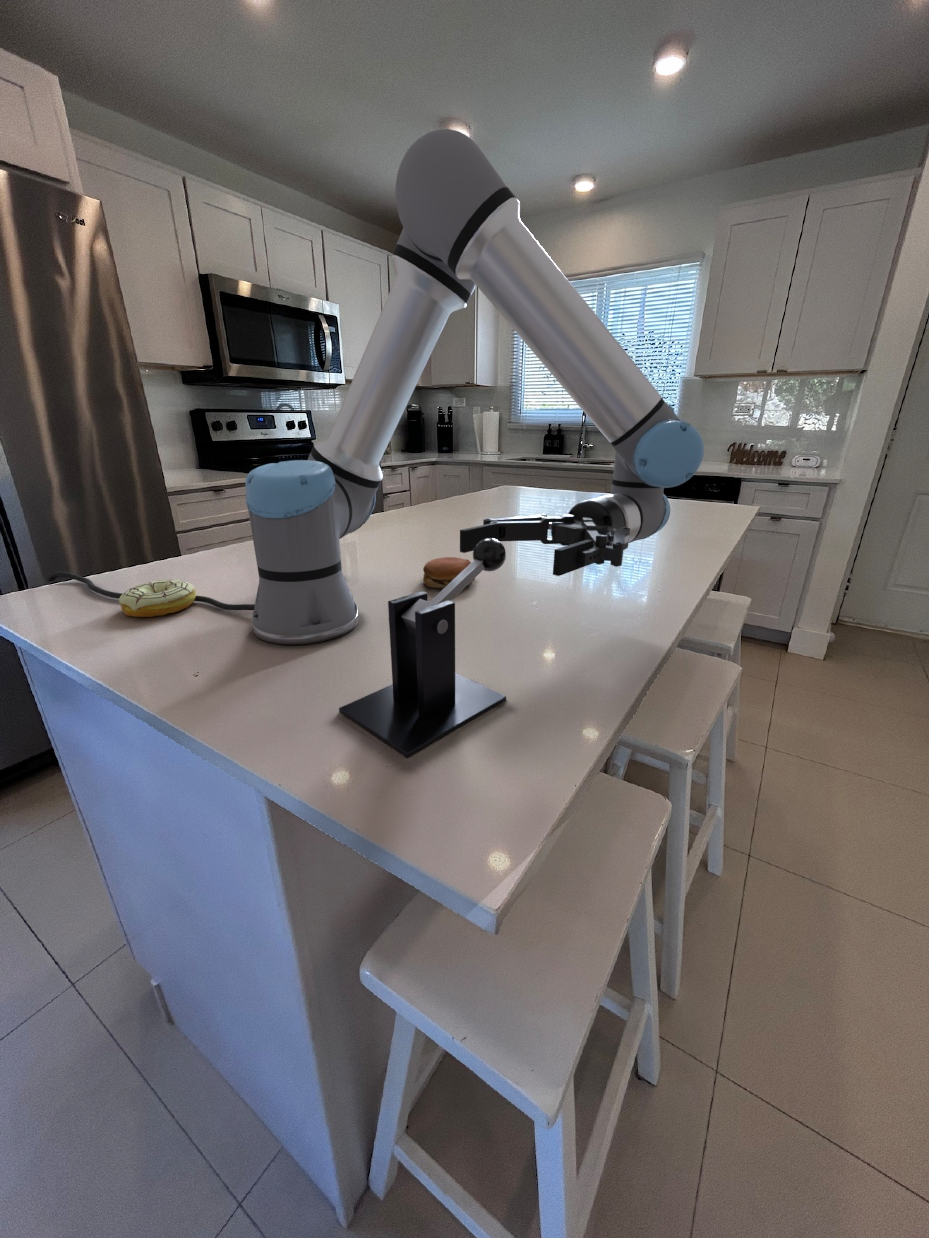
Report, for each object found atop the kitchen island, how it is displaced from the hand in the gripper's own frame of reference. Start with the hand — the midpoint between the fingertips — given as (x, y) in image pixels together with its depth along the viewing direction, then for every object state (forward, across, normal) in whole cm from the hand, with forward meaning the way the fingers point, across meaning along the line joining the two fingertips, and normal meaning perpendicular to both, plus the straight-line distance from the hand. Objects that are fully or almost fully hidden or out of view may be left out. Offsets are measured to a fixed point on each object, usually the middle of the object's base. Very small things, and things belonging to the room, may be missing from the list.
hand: (505, 551), depth 57 cm
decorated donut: (+21, +55, -16) cm, 61 cm away
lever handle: (+7, 0, -4) cm, 8 cm away
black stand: (+13, 0, -16) cm, 20 cm away
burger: (-21, +31, -16) cm, 40 cm away
